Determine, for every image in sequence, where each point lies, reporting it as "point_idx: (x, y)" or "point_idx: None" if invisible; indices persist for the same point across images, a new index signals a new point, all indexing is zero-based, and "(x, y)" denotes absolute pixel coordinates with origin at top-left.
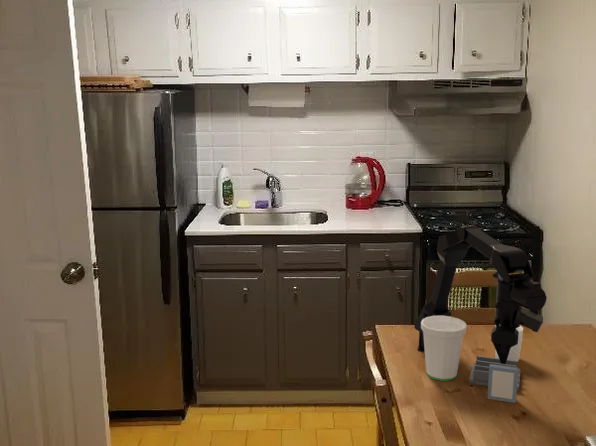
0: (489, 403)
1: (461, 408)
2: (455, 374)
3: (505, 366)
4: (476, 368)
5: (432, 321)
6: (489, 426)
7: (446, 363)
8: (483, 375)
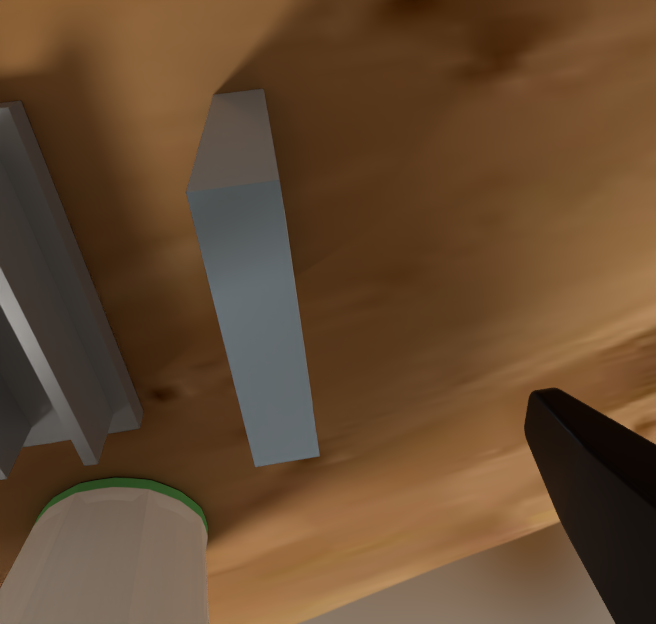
0: (356, 253)
1: (474, 362)
2: (120, 495)
3: (237, 337)
4: (9, 452)
5: None
6: (652, 191)
7: (189, 601)
8: (80, 390)
